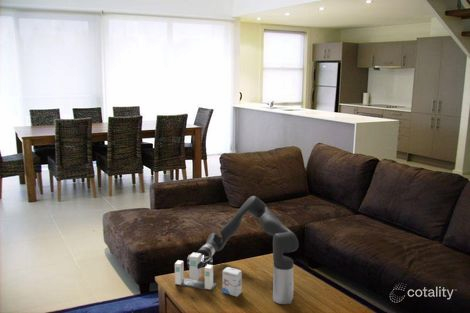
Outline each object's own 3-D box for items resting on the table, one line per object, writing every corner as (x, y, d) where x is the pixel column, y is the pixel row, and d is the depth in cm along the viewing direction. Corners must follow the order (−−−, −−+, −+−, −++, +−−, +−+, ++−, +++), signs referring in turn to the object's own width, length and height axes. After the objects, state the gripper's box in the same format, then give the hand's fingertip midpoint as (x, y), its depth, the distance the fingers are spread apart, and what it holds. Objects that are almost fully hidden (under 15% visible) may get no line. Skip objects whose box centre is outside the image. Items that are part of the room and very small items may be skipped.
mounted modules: (213, 285, 217) (213, 265, 215) (210, 289, 214) (210, 268, 212) (178, 280, 223) (178, 260, 221) (175, 283, 219) (174, 263, 217)
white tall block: (201, 275, 222) (201, 253, 219) (197, 280, 217) (197, 257, 214) (193, 274, 223) (193, 252, 221) (189, 278, 218) (189, 256, 216)
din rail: (216, 284, 220) (216, 283, 220) (212, 290, 215) (212, 288, 215) (180, 279, 226) (180, 277, 226) (175, 284, 221) (175, 282, 220)
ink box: (221, 292, 213) (221, 270, 210) (226, 288, 217) (226, 266, 215) (237, 297, 209) (237, 274, 206) (241, 292, 213) (242, 270, 211)
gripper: (193, 244, 233) (180, 257, 217) (218, 248, 229) (206, 261, 213) (193, 257, 235) (180, 271, 219) (218, 261, 231) (206, 275, 215)
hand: (193, 266), depth 216 cm, fingers closed on white tall block, 4 cm apart
